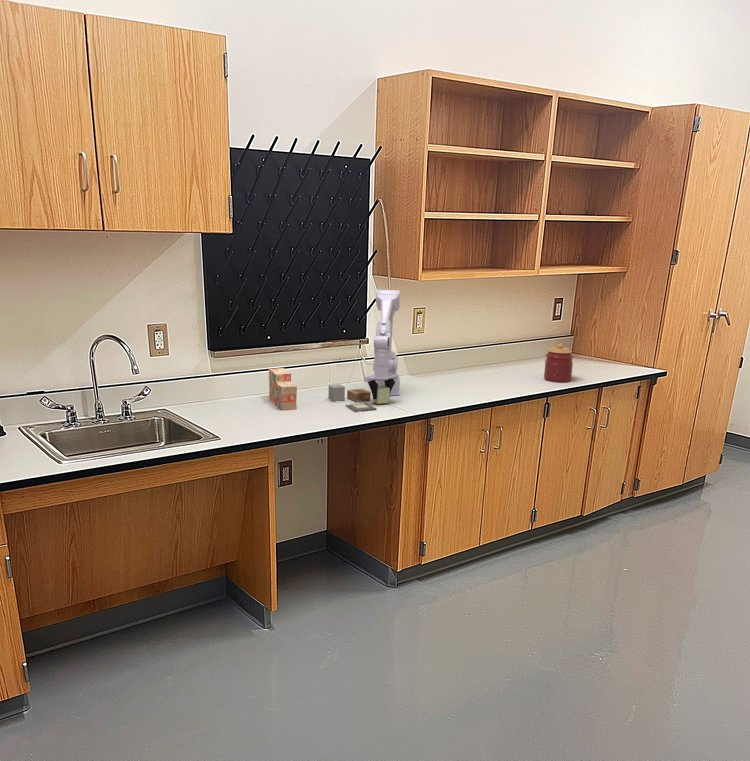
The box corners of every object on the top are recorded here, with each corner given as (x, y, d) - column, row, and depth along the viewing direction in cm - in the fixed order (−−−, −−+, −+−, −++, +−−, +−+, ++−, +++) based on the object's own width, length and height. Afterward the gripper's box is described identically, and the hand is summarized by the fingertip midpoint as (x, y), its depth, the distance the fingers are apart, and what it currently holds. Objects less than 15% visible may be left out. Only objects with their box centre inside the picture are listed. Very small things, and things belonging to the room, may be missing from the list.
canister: (559, 376, 333) (562, 340, 329) (577, 381, 322) (580, 345, 318) (537, 377, 328) (540, 341, 324) (555, 383, 316) (558, 346, 312)
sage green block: (383, 399, 276) (383, 385, 275) (389, 402, 272) (389, 388, 270) (372, 400, 274) (372, 386, 272) (378, 403, 269) (378, 389, 268)
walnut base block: (362, 397, 282) (362, 388, 281) (370, 401, 276) (370, 392, 275) (347, 399, 279) (347, 390, 278) (355, 403, 273) (355, 393, 272)
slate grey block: (339, 398, 280) (339, 384, 278) (344, 401, 275) (344, 386, 274) (328, 399, 277) (328, 385, 276) (333, 402, 273) (333, 387, 272)
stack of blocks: (296, 409, 261) (296, 378, 259) (281, 410, 259) (280, 379, 256) (283, 396, 281) (283, 367, 278) (269, 397, 279) (268, 368, 276)
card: (366, 404, 271) (366, 402, 270) (376, 409, 263) (376, 407, 263) (345, 406, 267) (345, 404, 267) (355, 412, 259) (355, 409, 259)
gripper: (369, 368, 263) (368, 402, 266) (402, 365, 269) (401, 398, 272) (361, 364, 269) (361, 398, 272) (394, 362, 275) (393, 394, 278)
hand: (380, 398), depth 272 cm, fingers closed on sage green block, 5 cm apart
